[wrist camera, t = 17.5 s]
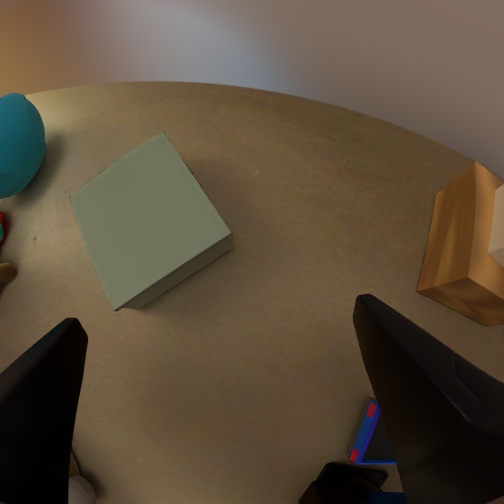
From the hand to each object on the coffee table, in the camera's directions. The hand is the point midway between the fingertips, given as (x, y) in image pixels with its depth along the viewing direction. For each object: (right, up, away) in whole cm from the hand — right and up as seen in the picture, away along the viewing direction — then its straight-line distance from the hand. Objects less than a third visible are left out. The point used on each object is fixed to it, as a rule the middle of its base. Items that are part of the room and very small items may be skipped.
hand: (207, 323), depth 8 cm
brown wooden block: (+22, +1, +13) cm, 25 cm away
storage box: (-7, +4, +14) cm, 16 cm away
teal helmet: (-25, +12, +16) cm, 32 cm away
